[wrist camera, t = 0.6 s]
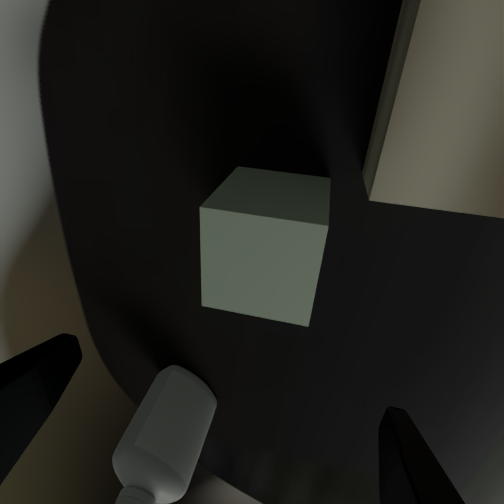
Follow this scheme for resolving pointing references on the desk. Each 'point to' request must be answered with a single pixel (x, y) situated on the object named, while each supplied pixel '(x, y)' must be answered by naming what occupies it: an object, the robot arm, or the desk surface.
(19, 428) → the robot arm
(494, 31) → the birch block
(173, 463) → the eye dropper bottle
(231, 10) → the desk surface
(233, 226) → the sage block
